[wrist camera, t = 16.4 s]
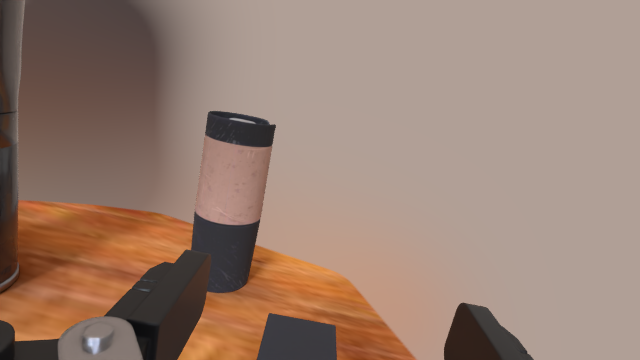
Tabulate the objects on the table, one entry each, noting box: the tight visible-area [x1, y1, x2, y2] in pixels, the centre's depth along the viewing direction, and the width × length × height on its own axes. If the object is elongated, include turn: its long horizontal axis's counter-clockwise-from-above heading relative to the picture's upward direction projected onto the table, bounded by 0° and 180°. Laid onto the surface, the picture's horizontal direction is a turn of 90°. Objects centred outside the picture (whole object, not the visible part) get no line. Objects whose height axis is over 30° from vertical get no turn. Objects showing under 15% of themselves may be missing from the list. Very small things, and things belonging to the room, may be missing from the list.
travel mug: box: [191, 111, 276, 293], centre depth 43 cm, size 8×8×20 cm
